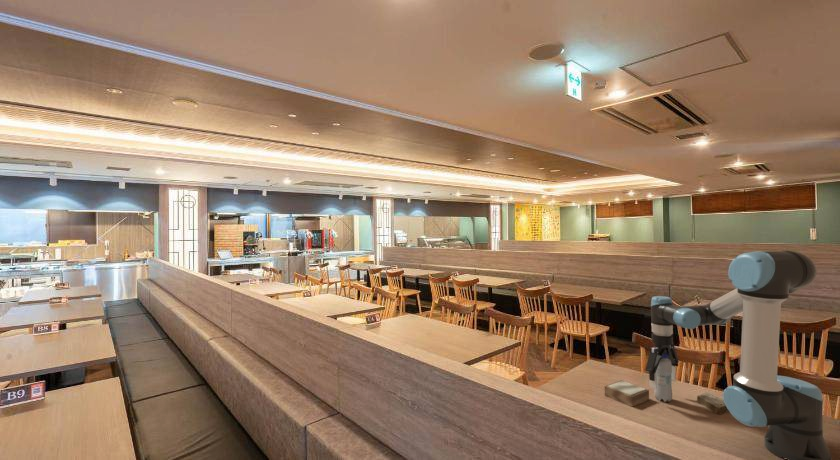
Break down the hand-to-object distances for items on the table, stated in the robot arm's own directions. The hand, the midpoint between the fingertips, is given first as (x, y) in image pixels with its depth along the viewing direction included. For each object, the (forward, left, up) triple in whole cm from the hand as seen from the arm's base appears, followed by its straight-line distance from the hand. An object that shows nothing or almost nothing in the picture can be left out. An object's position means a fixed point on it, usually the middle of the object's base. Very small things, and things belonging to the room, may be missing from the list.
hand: (662, 384), depth 158 cm
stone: (-13, -12, -7) cm, 19 cm away
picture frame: (+9, +11, -6) cm, 16 cm away
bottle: (0, 0, -7) cm, 7 cm away
